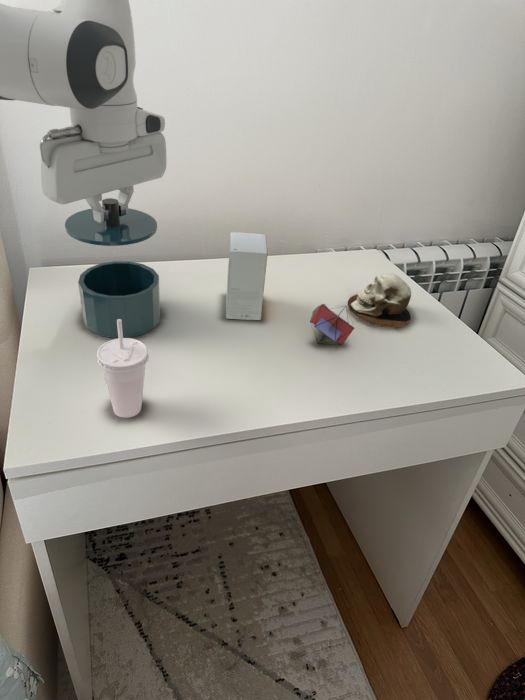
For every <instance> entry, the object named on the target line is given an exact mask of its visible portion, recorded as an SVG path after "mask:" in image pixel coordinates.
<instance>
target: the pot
mask: <svg viewBox="0 0 525 700" xmlns="http://www.w3.org/2000/svg"><path fill="white" fill-rule="evenodd" d="M77 285H78V291H79V299H80V305H81V314H82V320H83V322H84V325H85V327H86V328H87V329H88V330H89V331H90V332H92V333H93V334H95V335H98V336H101V337H105V338H110V339H118V327H117V320H118V319H121V320H122V332H123V338H133V337H134V338H135V337H138V336H142V335H144V334H146V333H148V332H150V331H152V330H153V329H155V328H156V326H158V324H159V322H160V320H161V319H160V318H161V303H160V302H161V298H160V275H159V274H158V273H157V271H156V270H155V269H153V268H152V267H150V266H148V265H146V264H144V263H140V262H135V261H131V260H130V261H127V260H125V261H123V260H120V261H119V260H113V261H108V262H100V263H98V264H96V265H93V266H91V267H88V268H87V269H86V270H84V271H83V272H82V273H80V275H79V278H78V284H77Z"/></svg>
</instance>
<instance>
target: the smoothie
mask: <svg viewBox="0 0 525 700" xmlns="http://www.w3.org/2000/svg"><path fill="white" fill-rule="evenodd" d="M117 327H118V338H112V339H110V340H107V341H106V342H104V343H103V344H101V345H100V346H99V347H98V349H97V351H96V360H97V364H98V365H99V367H101V370H102V374H103V377H104V381H105V385H106V388H107V391H108V395H109V399H110V402H111V406H112V410H113V413H114V414H115V415H116V416H117V417H119V418H122V419H128V418H133V417H136V416H137V415H138V414H140V413H141V411H142V405H143V394H144V387H145V386H144V384H145V375H146V367H147V366H146V365H147V363H148V361H149V357H150V354H149V348H148V346H147V345H146V344H145V343H144V342H143V341H140V340H138V339H136V338H133V337H129V338H123V332H122V320H121V319H118V320H117Z"/></svg>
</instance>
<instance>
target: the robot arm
mask: <svg viewBox="0 0 525 700" xmlns="http://www.w3.org/2000/svg"><path fill="white" fill-rule="evenodd" d="M51 10H52V11H51ZM51 10H48V11H46V10H45V11H44V10H37V9H29V8H23V7H16V6H15V7H14V6H10V5H6V4H3V3H1V2H0V100H1V101H20V102H26V103H32V104H39V105H44V106H51V107H63V108H69V113H70V114H69V115H70V116H69V117H70V121H71V122H70V124H71V125H70V126H65V127H63V128H52V129H49V130H48V131H47V133H46V134H45V135H44V136H42V138H41V140H40V141H39V152H40V158H41V160H40V175H41V177H40V178H41V179H40V180H41V190H42V194H43V195H44V196H45V197H46V198H47V199H48V200H50V201H53V202H55V203H57V204H58V205H59V204H60V205H68V204H70V203H74V202H78V201H81V200H85V201H86V202H87V204H88V206H89V207H90V209H93V217H94V220H95V221H97V222H99V223H102V222H105V221H108V220H109V216H108V215H109V210H107V209H104V208H103V207H102V204H101V202H102V200H103V195H102V194H107V193H111V192H114V191H119V192H118V195H117V198H116V199H117V200H118V201H119V216H124V215H127V214H128V208H129V203H130V202H131V199H132V197H133V194H134V186H136V185H139V184H143V183H147V182H150V181H155V180H158V179H162V177H164V174H165V173H166V170H167V143H166V138H165V135H164V134H163V133H162V132H164V131H165V127H166V120H165V117H164V116H163V115H161V114H158V113H155V112H152V111H148V110H145V109H144V108H142V107H139V106H138V96H137V93H136V89H135V84H134V74H135V71H136V64H137V63H136V45H135V32H134V23H133V17H132V11H131V5H130V1H129V0H61V2H60V3H59V4H58V5H57V6H56V7H54V8H52V9H51Z"/></svg>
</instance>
